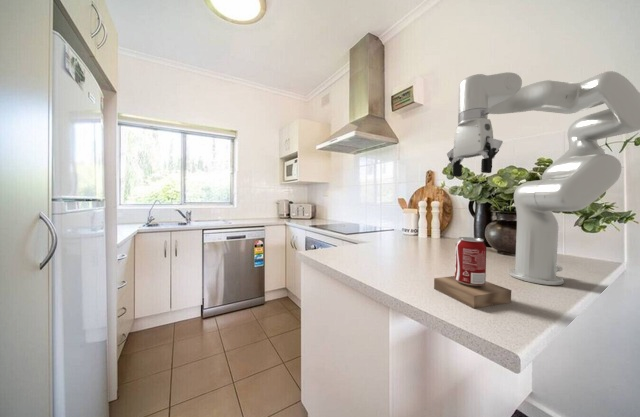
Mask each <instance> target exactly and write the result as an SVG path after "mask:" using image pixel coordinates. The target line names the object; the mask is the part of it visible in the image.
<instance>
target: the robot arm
mask: <svg viewBox="0 0 640 417" xmlns="http://www.w3.org/2000/svg"><path fill="white" fill-rule="evenodd" d="M522 84H523V80H522V77H521V76H520V75H519V74H517V73H515V72H508V71H507V72H500V73H493V74H488V75H487V74H484V73H483V74H482V73H479V74H473V75H469V76H467V77H465V78H464V79H463V80H461V82H460V83H459V86H458V109H457V110H458V112H457V113H458V115H457V116H458V117H457V127H456V129H455V133H454V140H453V148H451V150H449V151H448V152H447V153H446V156H447V158H448V161H449V162H450V164H451V165H452V176H453V177H462V174H463V165H462V162H463V161H464V159H469V158H475V157H480V156H482V157H483V158H482V159H481V165H480V166H481V168H480V172H481V173H482V174H491V173H492V169H493V159H495V157H496V155H497V154H498V152H499V151H500V149H501V147H502V145H503V140H501V139H496V138H494V130H493V126H492V121H491V119H490V118H488V116H489V115H503V114H504V115H505V114H514V113H517V114H518V113H524V112H532V111H536V112H545V113H553V114H554V113H555V114H565V115H568V114H569V115H570V114H571V115H572V114H576V113H579V112H582V111H586V110H589V109H592V108H595V107H598V106H601V105H604V104H605V105H606V107H607V109H604V110H600V111H597V112H593V113H591V114H588V115H584V116H582V117H579V119H577V120H575V121H573V123H571V124H570V126H569V127H568V129H567V139H568V149H567V151H566V152H565V153H564V154H562V155H561V156H560V157H559V158H558V159H556V160H555V161H554V162H553V163H551V164H550V165H549V166H548V167H547V168H546V169H544V172H543V174H542V176H541V179H538V180H531V181H526V182H524V183H522V184H520V185H518V186H517V187H516V189H515V191H514V192H513V202H514V206H515V212H516V234H515V235H516V236H515V238H516V239H515V241H516V242H515V266H514V267H515V268H512V269H509V271H508V274H509V275H510V276H511V277H513V278H515V279H517V280H520V281H525V282H528V283H533V284H539V285H546V286H561V285H563V284H564V282H565V280H564V279H563V278H562V277H560V276H558V275H557V273H558V272H562V271H563V267H562V266H561V265H557V264H558V248H559V247H558V245H559V244H558V242H559V240H558V239H559V224H558V219H557V218H556V216H555V215H554V214H553V212H578V211H581V210H583V209H585V208H587V207H588V206H590V205H591V204H593V203H594V202H595V201H596V200H598V198H600V197H601V196H602V195H603V194H604V193H606V192H607V191H608V190H609V189H611V188H612V187H613V186H614V185H615V184H616V183H617V182H618V180H619V179H620V176H621V174H622V169H623V168H622V163H621V161H620V160H619V159H618V158H617V157H616V156H614V155H612V154H607V153H606V152H605V150H604V148H603V146H601V145H599V142H598V140H602V139H607V138H612V137H617V136H621V135H625V134H631V133H634V132H638V131H640V92H639V90H638V89H637V88H636V86H635V85H634V84H633V83H632V82H631V81H630V80H629V79H628V78H627V77H626V76H624V75H623V74H621V73H619V72H617V71H613V70H608V71H604V72H601V73H598V74H597V75H594V76H593V77H590V78H588V79H585V80H583V81H581V82H566V81H565V82H564V81H559V80H551V79H549V80H548V79H547V80H542V81H538V82H533V83H530V84H528V85H525V86H523V85H522Z"/></svg>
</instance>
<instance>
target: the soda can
mask: <svg viewBox="0 0 640 417" xmlns="http://www.w3.org/2000/svg"><path fill="white" fill-rule="evenodd" d="M484 240H485V239H484V238H480V237H479V238H478V237H472V236H471V237H470V236H462V237H461V236H460V237H458V240H457V242H456V243H455V253H454V254H455V258H454V259H455V260H454V261H455V263H454V264H455V265H454V276H455V280H456V281H458V282H459V283H461V284H463V285H466V286H471V287H480V286H483V285H485V281H486V277H487V274H486V272H487V246H486V244H485V243H484Z"/></svg>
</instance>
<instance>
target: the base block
mask: <svg viewBox="0 0 640 417" xmlns="http://www.w3.org/2000/svg"><path fill="white" fill-rule="evenodd" d="M433 280H434V281H433V282H434V283H433V288H434V290H436V291H438V292H439V293H442V294H444V295H446V296H448V297H450V298H451V299H454V300H456V301H457V302H460V303H462V304H463V305H466V306H469V307H470V308H472V309H479V308H485V307H490V306H496V305H502V304H508V303H512V289H509V288H506V287H504V286H501V285H497V284H495V283H492V282H489V281H486V280H485V285H483V286H480V287H471V286H466V285H463V284H461V283H459V282H458V281H456V280H455V275H452V276H443V277H441V276H440V277H434V279H433Z"/></svg>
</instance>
